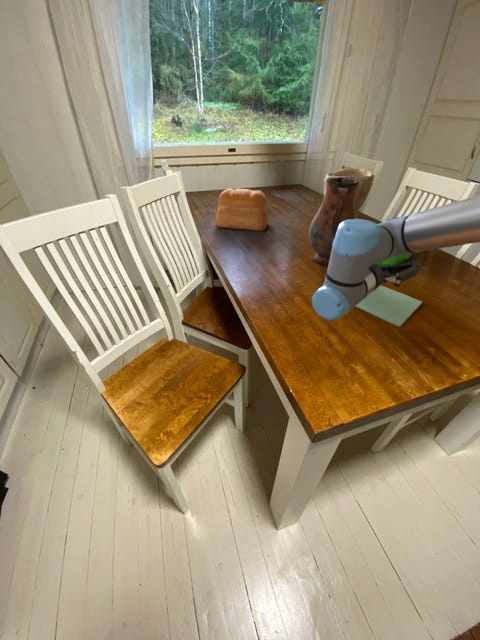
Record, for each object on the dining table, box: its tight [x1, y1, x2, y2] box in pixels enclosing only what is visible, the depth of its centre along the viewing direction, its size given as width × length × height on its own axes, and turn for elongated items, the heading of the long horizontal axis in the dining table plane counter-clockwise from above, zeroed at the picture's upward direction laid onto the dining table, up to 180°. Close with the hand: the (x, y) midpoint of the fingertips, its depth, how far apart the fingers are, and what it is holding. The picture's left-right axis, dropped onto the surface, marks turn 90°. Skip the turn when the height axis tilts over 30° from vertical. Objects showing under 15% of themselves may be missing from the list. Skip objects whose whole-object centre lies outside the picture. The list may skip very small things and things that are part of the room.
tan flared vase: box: [323, 167, 375, 218], centre depth 138 cm, size 22×22×25 cm
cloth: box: [354, 284, 423, 328], centre depth 89 cm, size 20×18×1 cm
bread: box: [215, 188, 269, 232], centre depth 137 cm, size 16×26×17 cm, turn 78°
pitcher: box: [308, 177, 359, 266], centre depth 101 cm, size 17×21×30 cm
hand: (399, 252), depth 77 cm, fingers closed on cup, 8 cm apart
